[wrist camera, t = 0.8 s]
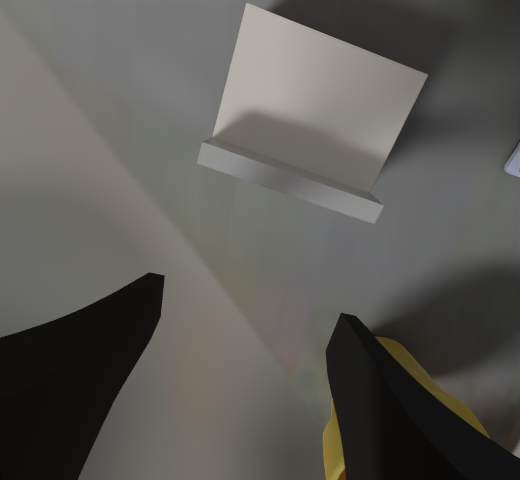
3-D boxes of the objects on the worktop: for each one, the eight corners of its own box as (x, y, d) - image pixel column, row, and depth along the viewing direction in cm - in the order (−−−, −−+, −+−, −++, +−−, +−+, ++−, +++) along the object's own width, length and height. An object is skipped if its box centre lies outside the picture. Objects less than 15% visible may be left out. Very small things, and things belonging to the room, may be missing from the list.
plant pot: (286, 369, 27) (292, 498, 18) (370, 295, 23) (430, 409, 15) (368, 420, 29) (409, 558, 20) (456, 359, 26) (554, 493, 17)
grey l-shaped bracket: (397, 81, 18) (456, 68, 12) (346, 192, 20) (374, 224, 15) (252, 25, 17) (240, -19, 11) (219, 147, 20) (196, 163, 14)
